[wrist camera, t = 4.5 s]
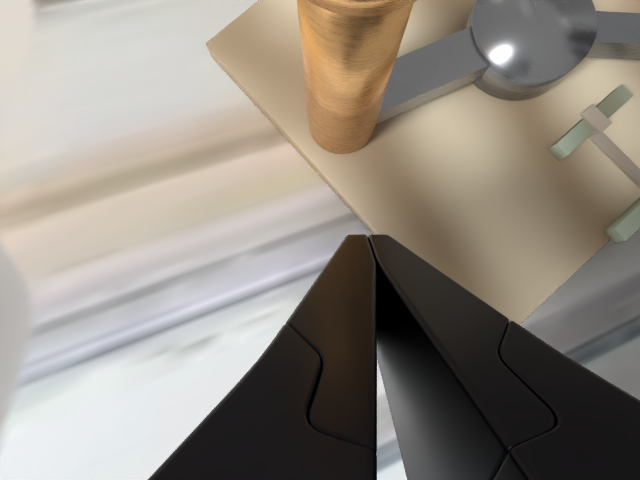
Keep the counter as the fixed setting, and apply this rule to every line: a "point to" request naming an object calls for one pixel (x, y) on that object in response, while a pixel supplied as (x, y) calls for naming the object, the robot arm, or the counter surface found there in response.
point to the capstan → (442, 57)
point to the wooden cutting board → (469, 157)
